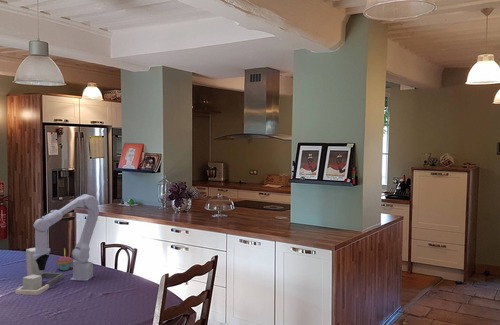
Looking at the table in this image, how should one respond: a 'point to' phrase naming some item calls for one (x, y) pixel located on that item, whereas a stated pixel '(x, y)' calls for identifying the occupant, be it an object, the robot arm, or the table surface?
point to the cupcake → (64, 262)
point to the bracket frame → (31, 292)
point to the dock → (55, 277)
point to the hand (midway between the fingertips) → (41, 270)
